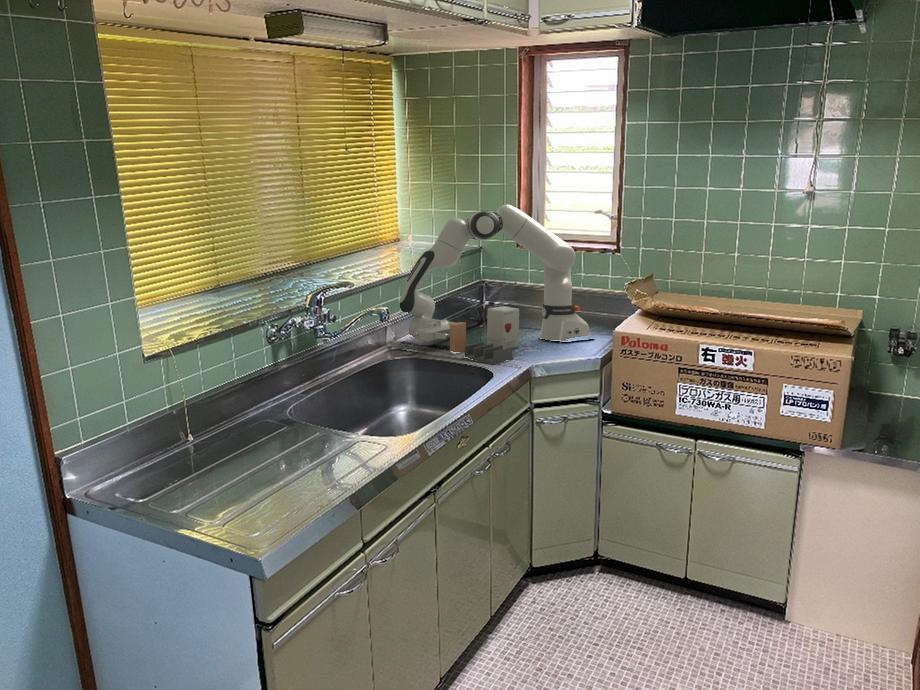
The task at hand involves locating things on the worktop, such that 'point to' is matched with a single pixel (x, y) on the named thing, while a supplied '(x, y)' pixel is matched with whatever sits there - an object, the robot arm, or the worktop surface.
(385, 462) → the worktop surface
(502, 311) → the supplement box
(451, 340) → the tile
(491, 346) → the dish rack
